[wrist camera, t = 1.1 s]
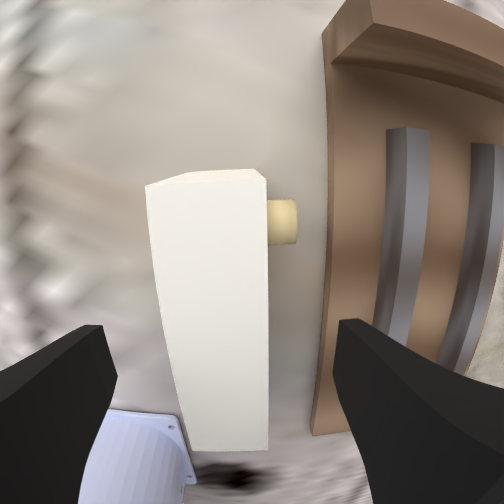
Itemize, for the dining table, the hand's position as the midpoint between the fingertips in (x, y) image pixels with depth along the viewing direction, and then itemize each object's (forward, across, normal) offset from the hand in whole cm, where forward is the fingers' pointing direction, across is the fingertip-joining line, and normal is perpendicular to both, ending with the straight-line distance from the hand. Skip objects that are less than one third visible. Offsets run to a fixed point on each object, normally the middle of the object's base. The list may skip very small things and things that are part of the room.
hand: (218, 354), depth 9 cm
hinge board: (+7, -11, 0) cm, 13 cm away
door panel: (+7, 0, 0) cm, 7 cm away
